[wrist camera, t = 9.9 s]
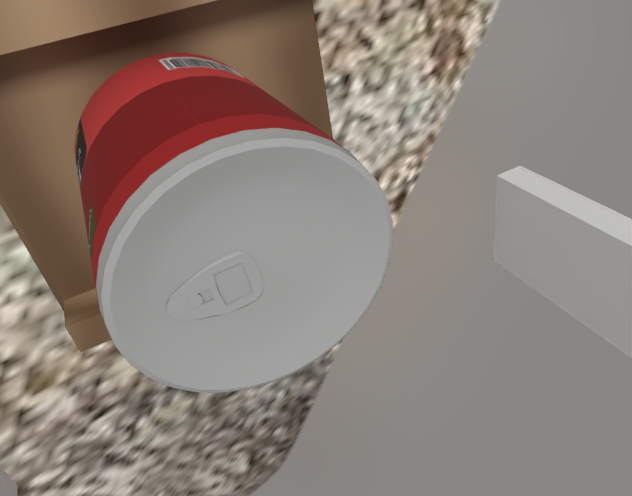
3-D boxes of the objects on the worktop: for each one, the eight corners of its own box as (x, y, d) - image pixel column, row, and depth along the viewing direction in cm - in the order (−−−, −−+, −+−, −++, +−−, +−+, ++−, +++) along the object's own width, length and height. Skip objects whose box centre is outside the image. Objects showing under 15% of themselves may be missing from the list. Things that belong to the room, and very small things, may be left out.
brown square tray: (63, 304, 28) (69, 380, 23) (-134, -31, 19) (-189, -16, 14) (331, 202, 32) (382, 249, 27) (280, -113, 23) (343, -123, 18)
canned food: (25, 126, 19) (17, 283, 11) (202, 4, 20) (326, 63, 11) (154, 258, 24) (219, 438, 16) (294, 157, 25) (430, 279, 16)
